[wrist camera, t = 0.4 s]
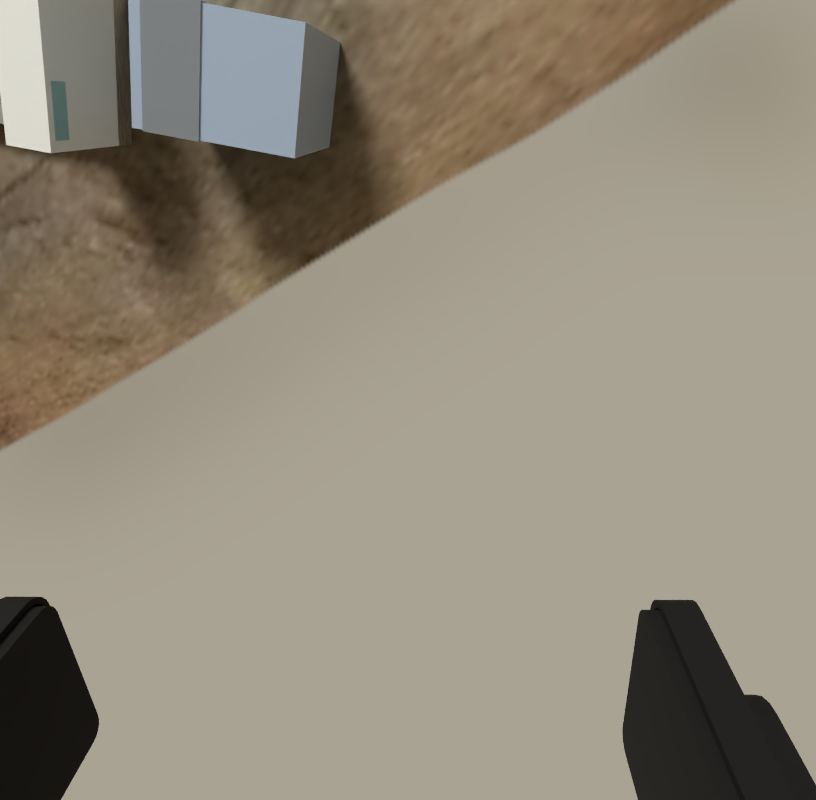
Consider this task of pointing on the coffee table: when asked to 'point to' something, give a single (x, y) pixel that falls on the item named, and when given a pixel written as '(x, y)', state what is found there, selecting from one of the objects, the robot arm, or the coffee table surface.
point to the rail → (119, 72)
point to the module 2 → (231, 77)
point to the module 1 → (58, 74)
